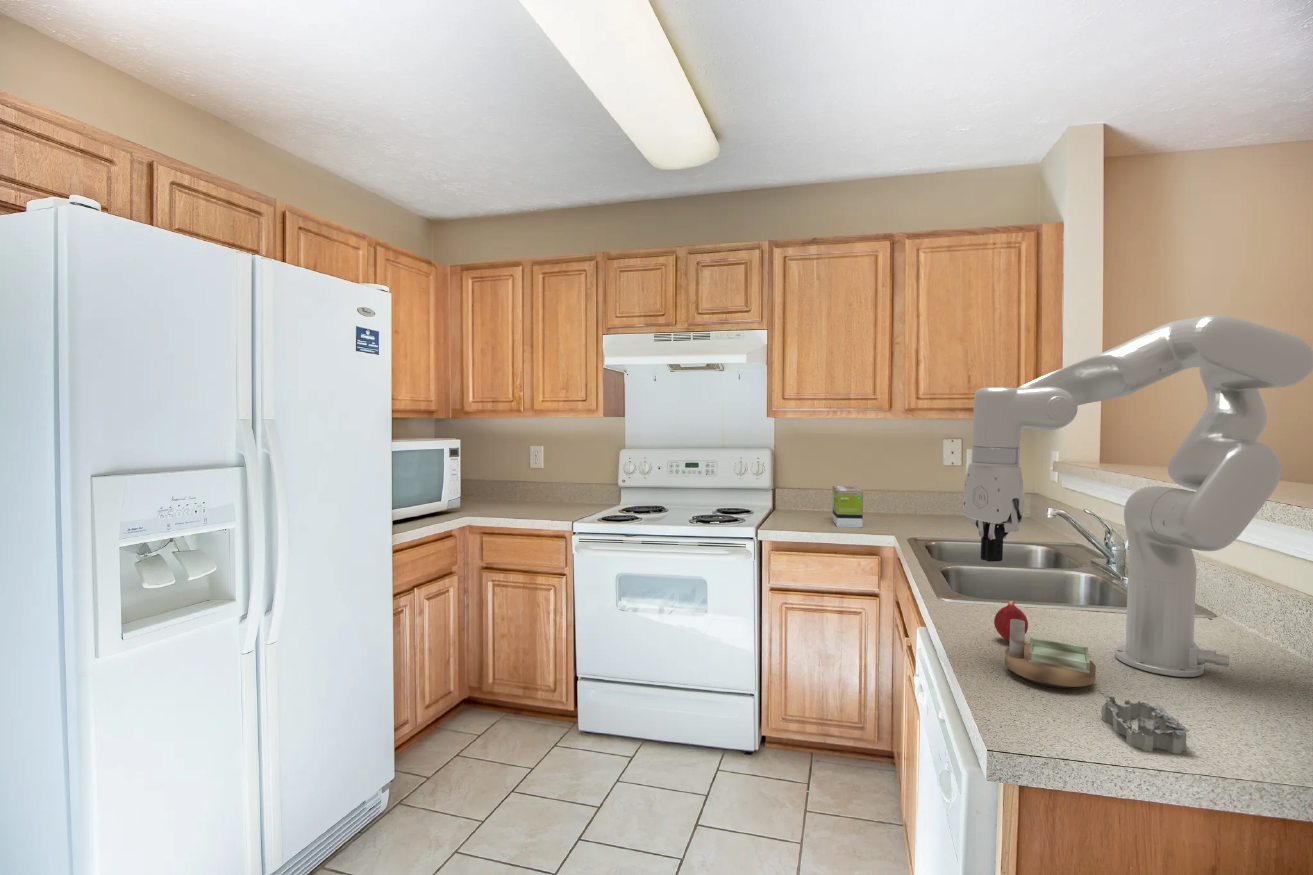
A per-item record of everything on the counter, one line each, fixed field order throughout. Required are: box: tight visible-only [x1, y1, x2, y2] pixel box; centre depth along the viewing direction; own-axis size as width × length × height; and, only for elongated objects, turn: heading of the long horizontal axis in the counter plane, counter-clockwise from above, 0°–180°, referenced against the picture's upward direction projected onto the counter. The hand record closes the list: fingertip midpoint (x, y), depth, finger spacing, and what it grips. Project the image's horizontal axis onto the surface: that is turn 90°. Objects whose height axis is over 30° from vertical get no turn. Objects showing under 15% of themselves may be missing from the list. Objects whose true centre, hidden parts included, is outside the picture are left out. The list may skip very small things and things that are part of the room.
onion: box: [993, 600, 1029, 643], centre depth 126 cm, size 6×6×8 cm
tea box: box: [832, 485, 864, 529], centre depth 259 cm, size 15×10×15 cm, turn 172°
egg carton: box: [1099, 690, 1193, 755], centre depth 90 cm, size 11×8×4 cm
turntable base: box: [1023, 677, 1071, 689], centre depth 109 cm, size 8×8×1 cm
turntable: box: [1004, 619, 1097, 688], centre depth 109 cm, size 13×13×8 cm
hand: (991, 560), depth 115 cm, fingers closed
